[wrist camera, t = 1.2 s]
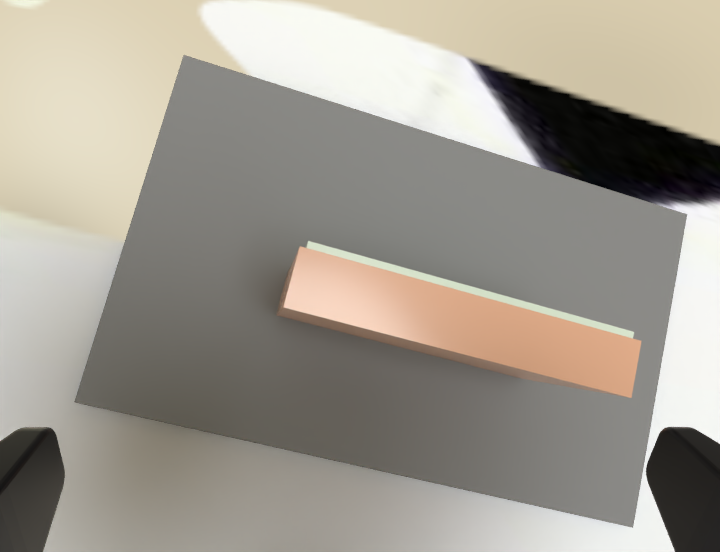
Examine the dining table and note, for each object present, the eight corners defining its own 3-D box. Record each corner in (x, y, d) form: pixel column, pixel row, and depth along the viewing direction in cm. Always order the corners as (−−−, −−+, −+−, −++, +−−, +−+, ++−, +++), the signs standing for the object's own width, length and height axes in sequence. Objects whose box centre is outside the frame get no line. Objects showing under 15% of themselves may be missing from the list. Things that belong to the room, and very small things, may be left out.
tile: (521, 378, 25) (631, 398, 18) (276, 315, 23) (283, 307, 16) (531, 333, 25) (642, 333, 18) (289, 267, 24) (302, 238, 16)
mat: (627, 524, 25) (632, 527, 25) (77, 400, 22) (74, 402, 22) (680, 216, 27) (686, 214, 27) (185, 59, 24) (183, 54, 24)
